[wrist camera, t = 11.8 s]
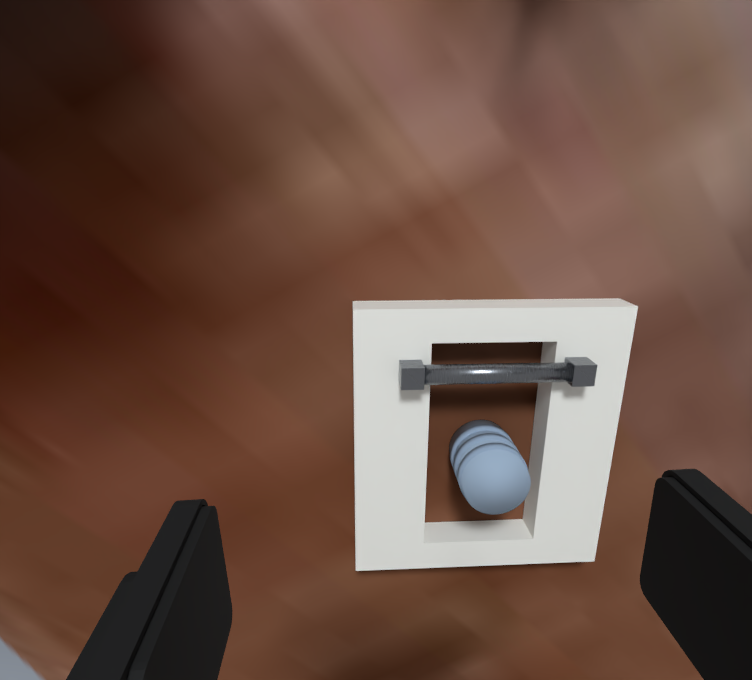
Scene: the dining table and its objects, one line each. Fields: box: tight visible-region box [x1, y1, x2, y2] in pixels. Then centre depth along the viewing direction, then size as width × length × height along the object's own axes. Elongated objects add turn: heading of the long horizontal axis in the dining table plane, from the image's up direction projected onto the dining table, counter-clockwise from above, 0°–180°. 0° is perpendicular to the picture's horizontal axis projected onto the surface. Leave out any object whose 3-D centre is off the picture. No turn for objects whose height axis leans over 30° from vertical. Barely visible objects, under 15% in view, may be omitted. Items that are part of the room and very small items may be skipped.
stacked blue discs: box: [449, 420, 531, 514], centre depth 38 cm, size 5×5×6 cm
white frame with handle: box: [353, 298, 638, 571], centre depth 39 cm, size 20×22×2 cm
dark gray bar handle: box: [399, 357, 597, 390], centre depth 35 cm, size 14×2×2 cm, turn 90°
